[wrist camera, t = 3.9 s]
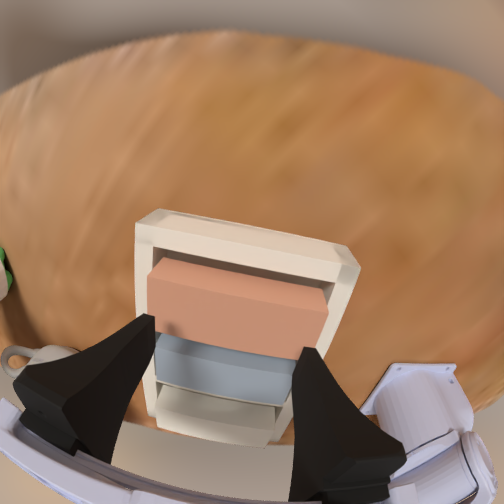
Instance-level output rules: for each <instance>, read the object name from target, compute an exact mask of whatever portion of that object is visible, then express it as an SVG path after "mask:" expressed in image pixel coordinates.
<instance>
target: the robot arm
mask: <svg viewBox="0 0 504 504" xmlns="http://www.w3.org/2000/svg"><path fill="white" fill-rule="evenodd" d="M155 348H156V338H155V316H152V315H148V314H145V313H143V314H142V315H140V316H139V317H137V318H136V319H134V320H133V321H132V322H130V323H129V324H127V325H126V326H124V327H123V328H122V329H120V330H119V331H117V332H116V333H114V334H113V335H111V336H109V337H108V338H106V339H104V340H103V341H101V342H99V343H97V344H96V345H94V346H92V347H90V348H87V349H85V350H83V351H81V352H78V353H76V354H73V355H70V356H67V357H64V358H61V359H58V360H54V361H50V362H45V363H39V364H32V365H27V366H26V367H25V368H24V369H23V370H22V372H21V373H20V374H19V375H18V377H17V378H16V379H15V380H14V382H13V387H14V390H15V392H16V394H17V396H18V397H19V399H20V400H21V401H22V403H23V405H24V406H25V408H26V409H25V411H24V412H22V411H21V410H20V409H19V408H18V407H16V406H15V405H14V404H12V403H11V402H10V401H8V400H7V399H6V398H2V399H1V400H0V451H1V452H2V453H3V454H4V455H5V456H6V457H8V458H9V459H10V460H11V461H13V462H14V463H15V464H17V465H18V466H19V467H20V468H22V469H23V470H24V471H26V472H27V473H28V474H30V475H31V476H33V477H34V478H35V479H37V480H38V481H40V482H41V483H43V484H44V485H46V486H47V487H49V488H50V489H52V490H54V491H55V492H57V493H58V494H60V495H62V496H63V497H65V498H67V499H69V500H70V501H72V502H74V503H76V504H456V503H458V502H460V501H461V500H463V499H465V498H467V497H468V496H470V495H472V494H473V493H475V492H476V493H475V494H474V495H472V496H471V497H469V498H467V499H465V500H464V501H462V502H460V503H458V504H491V503H492V501H493V500H494V498H495V496H496V491H497V488H498V482H497V479H496V476H495V473H494V468H493V464H492V461H491V458H490V455H489V453H488V451H487V448H486V447H485V445H484V443H483V441H482V439H481V438H480V436H479V435H478V434H477V433H476V432H471V430H472V427H473V421H474V415H473V410H472V407H471V405H470V403H469V401H468V399H467V397H466V395H465V394H464V392H463V390H462V388H461V386H460V384H459V383H458V381H457V379H456V377H455V376H454V374H453V372H454V370H455V369H456V365H455V364H410V363H394V364H392V365H390V367H389V368H388V370H387V371H386V373H385V374H384V376H383V377H382V379H381V380H380V382H379V383H378V385H377V386H376V388H375V389H374V391H373V392H372V393H371V395H370V396H369V398H368V399H367V400H366V402H365V403H364V404H363V406H362V407H361V408H360V410H359V409H358V408H357V407H356V406H355V405H354V404H353V403H352V401H351V400H350V399H349V398H348V397H347V396H346V394H345V393H344V392H343V390H342V389H341V388H340V386H339V385H338V383H337V382H336V380H335V379H334V377H333V376H332V374H331V373H330V371H329V369H328V368H327V366H326V364H325V363H324V361H323V359H322V357H321V356H320V354H319V352H318V351H317V349H316V348H312V347H303V350H302V352H301V355H300V357H299V359H298V362H297V364H296V367H295V369H294V371H293V374H292V387H291V395H292V407H293V418H294V431H295V441H294V459H293V470H292V479H291V487H290V493H289V499H288V502H276V501H259V500H248V499H239V498H230V497H224V496H218V495H212V494H206V493H201V492H196V491H192V490H187V489H183V488H179V487H175V486H171V485H168V484H164V483H161V482H157V481H154V480H150V479H147V478H144V477H141V476H139V475H135V474H133V473H130V472H127V471H125V470H122V469H120V468H117V467H115V466H112V465H111V460H112V456H113V451H114V447H115V443H116V440H117V436H118V433H119V430H120V427H121V424H122V421H123V418H124V415H125V412H126V410H127V407H128V404H129V402H130V400H131V397H132V395H133V394H134V392H135V390H136V388H137V386H138V384H139V382H140V380H141V379H142V377H143V375H144V373H145V371H146V369H147V367H148V365H149V364H150V361H151V358H152V356H153V353H154V350H155ZM374 414H377V418H378V421H379V425H380V428H379V427H378V426H376V425H375V424H374V423H373V422H372V421H370V420H369V419H368V418H367V417H366V416H365V415H374ZM126 488H128V489H126ZM129 489H130V490H129ZM132 490H133V491H132Z"/></svg>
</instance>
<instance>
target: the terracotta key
mask: <svg viewBox="0 0 504 504" xmlns="http://www.w3.org/2000/svg"><path fill="white" fill-rule="evenodd" d="M147 314H148V315H152V316H155V331H157V332H161V333H164V334H168V335H172V336H176V337H180V338H184V339H188V340H192V341H196V342H201V343H205V344H209V345H214V346H219V347H223V348H228V349H233V350H239V351H244V352H249V353H255V354H261V355H267V356H273V357H279V358H286V359H293V360H298V359H299V357H300V355H301V352H302V350H303V347H312V348H315V346H316V344H317V341H318V339H319V337H320V334H321V332H322V330H323V327H324V325H325V322H326V320H327V317H328V315H329V310H328V307H327V304H326V300H325V297H324V294H323V290H322V289H319V288H314V287H308V286H303V285H297V284H292V283H287V282H282V281H276V280H271V279H266V278H261V277H256V276H251V275H246V274H241V273H236V272H231V271H226V270H221V269H216V268H212V267H207V266H202V265H197V264H193V263H188V262H183V261H179V260H174V259H169V258H165V257H163V258H162V259H161V260H160V261H159V263H158V264H157V265H156V266H155V267H154V268H153V269H152V271H151V272H150V273H149V274H148V275H147Z"/></svg>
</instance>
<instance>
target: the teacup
mask: <svg viewBox="0 0 504 504" xmlns="http://www.w3.org/2000/svg"><path fill="white" fill-rule="evenodd" d="M78 352H79V351H77V350H75V349H73V348H70V347H66V346H59V345H48V346H45V347H43V348H42V349H30V348H27V347H23V346H16V345H13V346H9V347H7V348H5V349H4V351H3V352H2V355H1V365H2V368H3V370H4V371H5V373H6V374H7V375H9V376H10V377H12V378H15V379H16V378H17V377H18V375H19V374H20V373H21V372H22V370H23V369H24V368H25V367H26V366H27V365H32V364H39V363H45V362H50V361H54V360H58V359H61V358H64V357H67V356H70V355H73V354H76V353H78ZM13 355H23V356H27V357H29V358H32V359H31V360H30V361H29V362H28V364H27V365H26V366H23V367H21V368H19V369H13V368H11V367H10V366H9V365H8V360H9V358H10V357H11V356H13Z"/></svg>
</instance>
